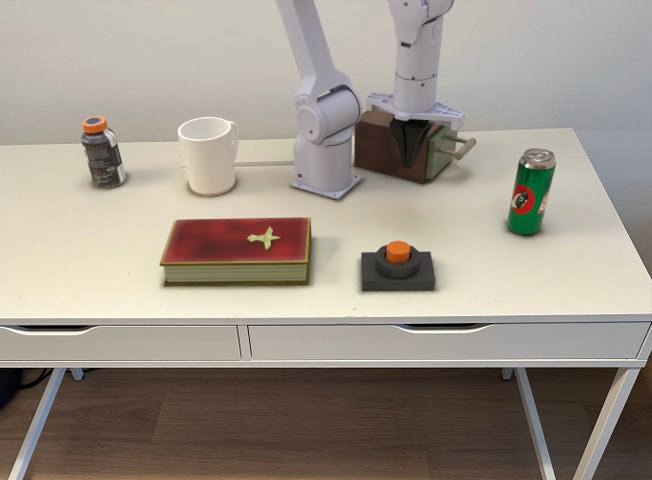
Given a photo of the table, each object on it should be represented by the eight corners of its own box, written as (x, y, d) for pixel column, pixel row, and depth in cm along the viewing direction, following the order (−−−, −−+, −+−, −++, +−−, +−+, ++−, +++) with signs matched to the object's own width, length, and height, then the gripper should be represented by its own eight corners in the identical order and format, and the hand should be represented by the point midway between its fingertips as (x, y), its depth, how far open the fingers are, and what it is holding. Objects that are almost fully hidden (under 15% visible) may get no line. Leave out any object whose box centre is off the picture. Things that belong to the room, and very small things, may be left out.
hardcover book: (179, 239, 104) (174, 216, 102) (311, 237, 103) (310, 214, 100) (164, 286, 96) (159, 262, 93) (308, 284, 94) (307, 260, 91)
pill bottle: (133, 177, 120) (118, 116, 112) (110, 191, 117) (93, 130, 109) (109, 170, 123) (93, 110, 115) (86, 184, 119) (68, 123, 111)
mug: (205, 203, 112) (196, 146, 105) (178, 184, 117) (167, 128, 110) (257, 180, 117) (251, 124, 110) (228, 163, 122) (221, 108, 115)
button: (386, 264, 91) (387, 253, 90) (385, 251, 94) (386, 240, 92) (410, 264, 91) (411, 253, 90) (408, 250, 93) (409, 240, 92)
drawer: (477, 161, 115) (482, 124, 111) (454, 185, 110) (459, 147, 105) (392, 141, 123) (394, 105, 118) (366, 162, 117) (368, 125, 112)
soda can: (541, 237, 99) (559, 164, 91) (506, 235, 100) (521, 162, 92) (539, 219, 103) (556, 147, 94) (505, 217, 104) (519, 145, 95)
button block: (361, 290, 92) (362, 270, 90) (361, 261, 97) (361, 241, 95) (434, 290, 92) (436, 269, 89) (429, 260, 97) (431, 240, 94)
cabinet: (449, 158, 119) (454, 111, 113) (423, 184, 113) (427, 136, 107) (382, 142, 125) (384, 96, 119) (354, 165, 118) (354, 119, 113)
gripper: (355, 73, 90) (353, 164, 99) (453, 93, 84) (442, 189, 93) (380, 56, 94) (376, 145, 103) (476, 73, 88) (463, 167, 97)
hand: (409, 165), depth 99 cm, fingers closed
